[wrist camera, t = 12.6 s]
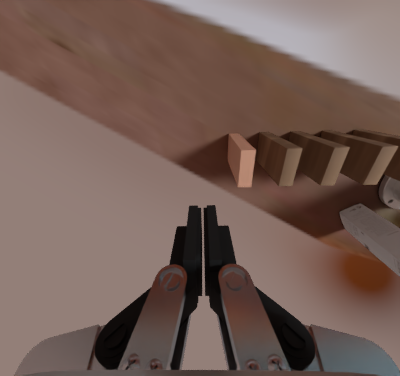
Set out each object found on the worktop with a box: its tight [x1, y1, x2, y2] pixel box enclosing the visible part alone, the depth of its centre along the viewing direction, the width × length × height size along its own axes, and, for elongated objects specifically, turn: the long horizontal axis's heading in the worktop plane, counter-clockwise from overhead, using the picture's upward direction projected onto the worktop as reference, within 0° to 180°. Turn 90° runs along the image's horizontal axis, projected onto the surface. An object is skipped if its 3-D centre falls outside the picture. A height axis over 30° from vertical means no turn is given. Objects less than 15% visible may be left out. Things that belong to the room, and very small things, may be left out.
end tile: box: [228, 133, 256, 187], centre depth 23 cm, size 2×5×10 cm, turn 2°
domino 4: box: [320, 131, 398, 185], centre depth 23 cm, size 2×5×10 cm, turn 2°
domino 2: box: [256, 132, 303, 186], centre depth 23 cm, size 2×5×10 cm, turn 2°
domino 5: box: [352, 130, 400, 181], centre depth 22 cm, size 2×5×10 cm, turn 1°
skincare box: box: [340, 203, 400, 276], centre depth 29 cm, size 6×4×12 cm
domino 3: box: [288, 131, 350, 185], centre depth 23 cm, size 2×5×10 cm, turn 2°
